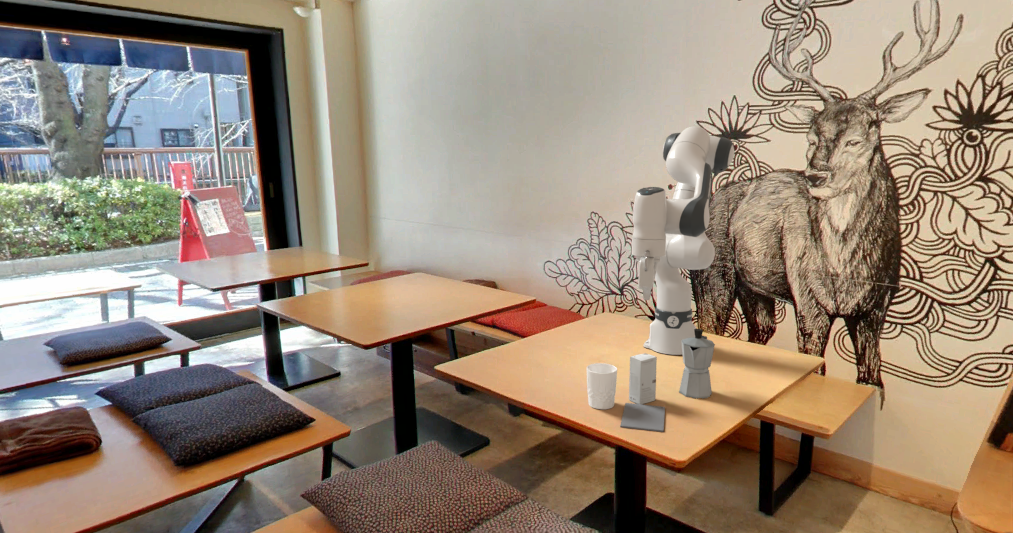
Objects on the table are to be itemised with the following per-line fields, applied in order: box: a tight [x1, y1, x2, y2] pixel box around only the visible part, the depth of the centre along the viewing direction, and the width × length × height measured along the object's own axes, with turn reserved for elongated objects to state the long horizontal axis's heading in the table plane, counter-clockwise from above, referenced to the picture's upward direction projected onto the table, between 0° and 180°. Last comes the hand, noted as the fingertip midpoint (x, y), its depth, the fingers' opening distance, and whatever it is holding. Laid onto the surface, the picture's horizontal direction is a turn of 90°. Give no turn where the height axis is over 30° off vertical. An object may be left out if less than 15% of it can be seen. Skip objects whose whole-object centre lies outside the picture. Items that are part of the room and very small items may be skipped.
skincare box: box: [628, 352, 658, 405], centre depth 155 cm, size 6×4×12 cm
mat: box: [619, 402, 666, 433], centre depth 146 cm, size 14×10×1 cm
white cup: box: [586, 362, 618, 410], centre depth 153 cm, size 8×8×10 cm
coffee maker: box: [678, 328, 716, 400], centre depth 160 cm, size 15×9×18 cm, turn 151°
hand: (646, 298), depth 159 cm, fingers closed
